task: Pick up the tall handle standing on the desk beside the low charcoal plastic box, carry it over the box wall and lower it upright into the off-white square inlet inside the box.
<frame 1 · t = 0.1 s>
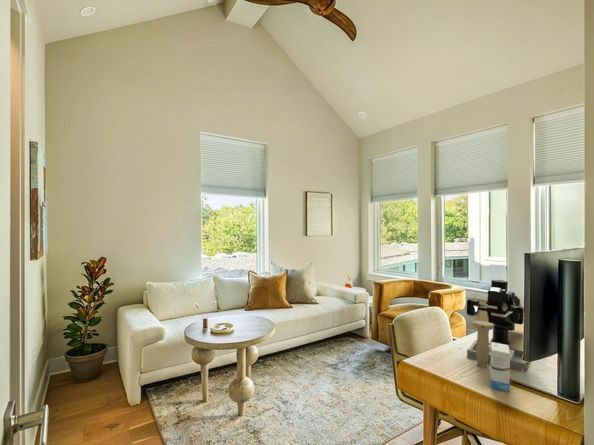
hand: (489, 315, 121), 17 cm above the table, tool horizontal, fingers open, 9 cm apart
walled box: (498, 357, 125), on the table
handle: (482, 366, 118), on the table
ink box: (499, 385, 104), on the table
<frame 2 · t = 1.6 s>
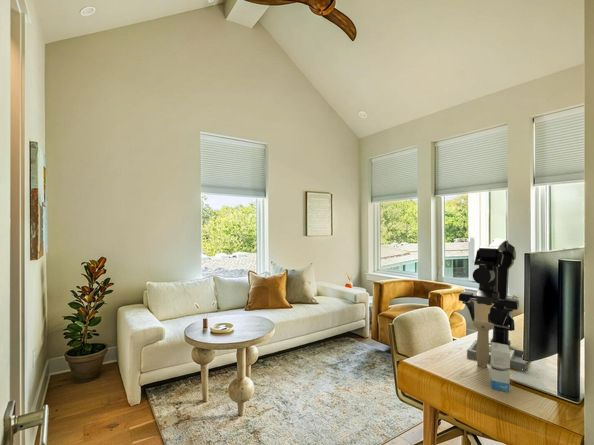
hand: (487, 323, 123), 13 cm above the table, tool pointing down, fingers open, 9 cm apart
nothing on the table moved.
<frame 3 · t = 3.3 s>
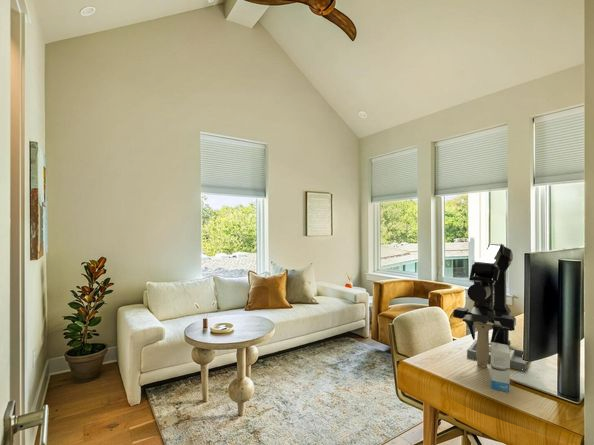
hand: (482, 341, 118), 9 cm above the table, tool pointing down, fingers closed on handle, 5 cm apart
handle: (482, 366, 118), on the table, touching gripper
everything else where it was.
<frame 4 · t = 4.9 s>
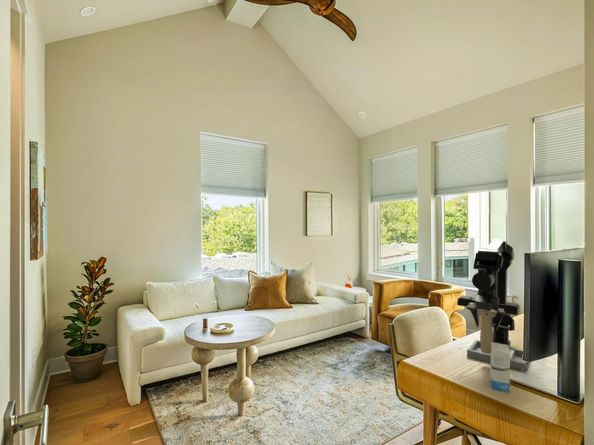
hand: (486, 328, 119), 12 cm above the table, tool pointing down, fingers closed on handle, 5 cm apart
handle: (486, 352, 120), point 4 cm above the table, touching gripper
everything else where it was.
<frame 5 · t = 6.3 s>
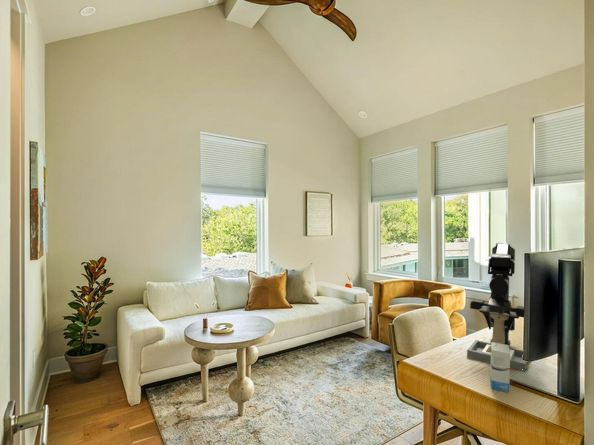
hand: (498, 331, 125), 10 cm above the table, tool pointing down, fingers closed on handle, 5 cm apart
handle: (498, 354, 125), point 1 cm above the table, touching gripper
everything else where it was.
when the fingers open (9 cm above the table, at t = 6.8 s): handle stays where it is, resting on walled box.
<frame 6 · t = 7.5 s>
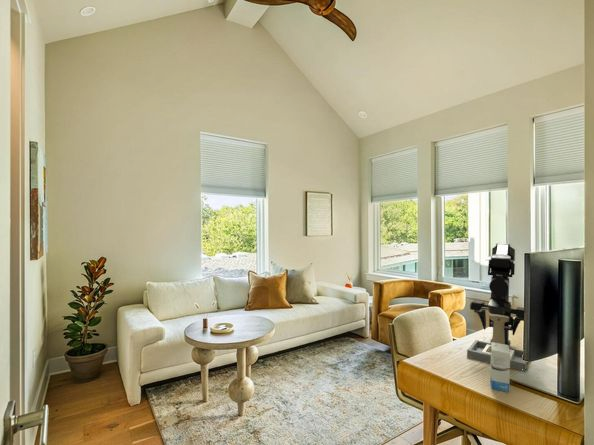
hand: (498, 332, 125), 9 cm above the table, tool pointing down, fingers open, 9 cm apart
handle: (498, 356, 125), resting on walled box
everything else where it was.
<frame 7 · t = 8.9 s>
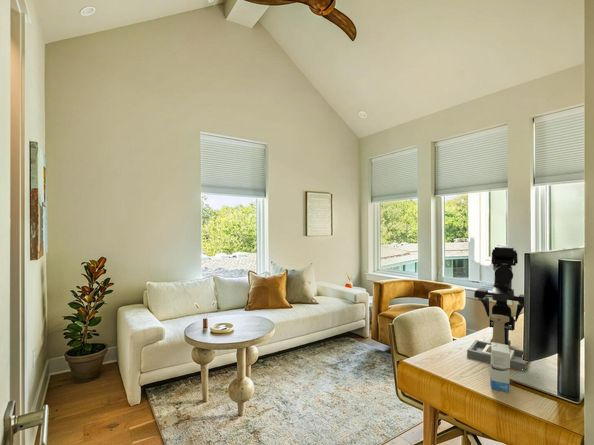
hand: (501, 319, 130), 13 cm above the table, tool pointing down, fingers open, 9 cm apart
nothing on the table moved.
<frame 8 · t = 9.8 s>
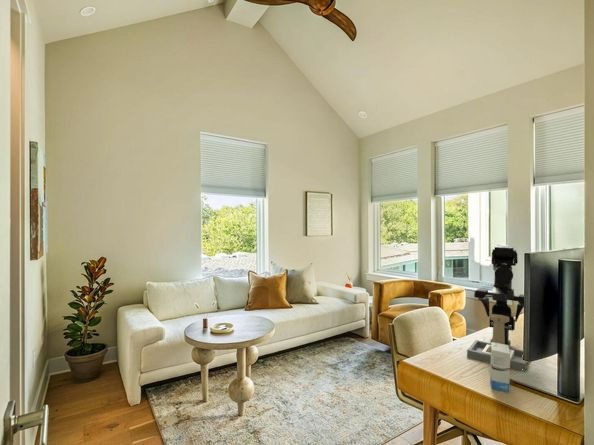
hand: (501, 319, 130), 13 cm above the table, tool pointing down, fingers open, 9 cm apart
nothing on the table moved.
at the end: handle 0.0 cm off-centre on the walled box, point 0.2 cm above the walled box's base; handle tilted 0°; the gripper is holding nothing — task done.
